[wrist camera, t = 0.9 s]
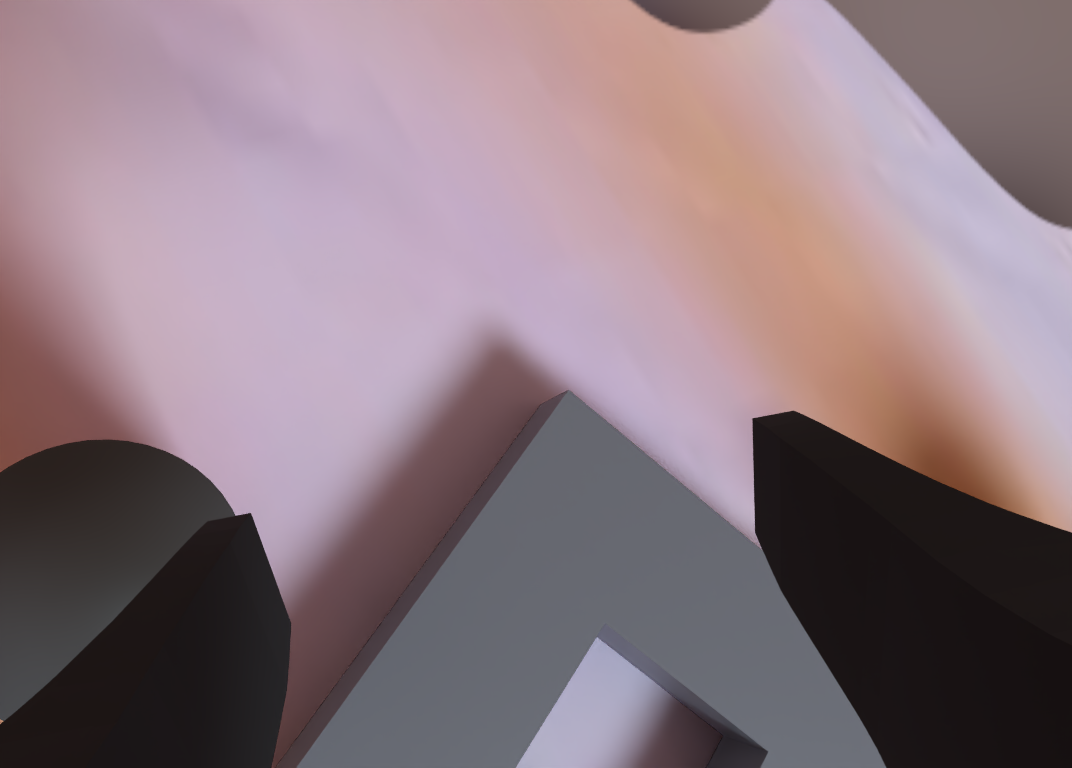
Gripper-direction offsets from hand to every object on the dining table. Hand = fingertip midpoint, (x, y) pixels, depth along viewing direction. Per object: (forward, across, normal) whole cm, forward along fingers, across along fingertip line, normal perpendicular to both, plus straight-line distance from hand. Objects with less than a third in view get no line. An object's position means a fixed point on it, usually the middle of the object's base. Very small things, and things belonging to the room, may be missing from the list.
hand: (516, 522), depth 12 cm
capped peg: (+9, +10, +6) cm, 15 cm away
